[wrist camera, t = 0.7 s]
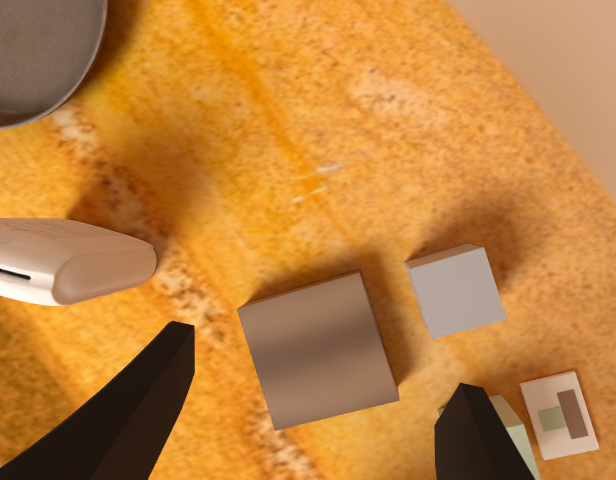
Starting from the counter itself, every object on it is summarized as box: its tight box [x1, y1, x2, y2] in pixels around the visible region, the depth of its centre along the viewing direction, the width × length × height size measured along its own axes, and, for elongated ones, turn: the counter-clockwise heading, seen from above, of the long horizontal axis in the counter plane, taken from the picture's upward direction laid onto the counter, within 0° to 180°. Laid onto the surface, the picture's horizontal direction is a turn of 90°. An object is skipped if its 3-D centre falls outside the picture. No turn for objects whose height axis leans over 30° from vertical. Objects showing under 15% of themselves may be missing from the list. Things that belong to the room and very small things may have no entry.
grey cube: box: [404, 244, 507, 339], centre depth 31 cm, size 5×5×5 cm
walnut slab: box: [237, 269, 399, 431], centre depth 34 cm, size 10×10×3 cm
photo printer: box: [0, 218, 157, 306], centre depth 31 cm, size 10×4×12 cm, turn 76°
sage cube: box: [438, 394, 541, 480], centre depth 31 cm, size 5×5×5 cm
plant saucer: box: [0, 0, 109, 130], centre depth 36 cm, size 21×21×3 cm
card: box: [519, 371, 600, 460], centre depth 32 cm, size 6×4×1 cm, turn 18°
